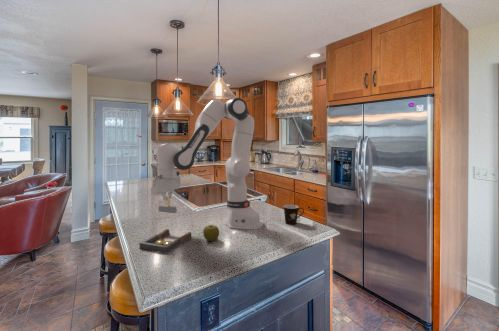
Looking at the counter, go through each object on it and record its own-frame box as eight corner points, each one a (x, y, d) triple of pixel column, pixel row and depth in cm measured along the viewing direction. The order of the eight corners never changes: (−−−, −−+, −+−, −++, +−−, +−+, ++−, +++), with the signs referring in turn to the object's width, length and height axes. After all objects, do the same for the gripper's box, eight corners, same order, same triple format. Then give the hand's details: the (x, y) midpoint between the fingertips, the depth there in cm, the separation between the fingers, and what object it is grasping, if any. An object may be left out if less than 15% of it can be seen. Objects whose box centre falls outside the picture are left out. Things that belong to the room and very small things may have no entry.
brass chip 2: (174, 244, 125) (174, 241, 125) (168, 248, 121) (168, 244, 121) (167, 243, 127) (167, 240, 126) (161, 246, 123) (161, 243, 122)
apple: (211, 236, 135) (211, 222, 134) (222, 240, 130) (222, 226, 129) (200, 240, 129) (199, 226, 128) (211, 244, 124) (211, 230, 123)
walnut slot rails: (191, 237, 134) (191, 232, 133) (180, 244, 125) (180, 238, 125) (167, 233, 139) (166, 229, 138) (155, 239, 130) (155, 234, 130)
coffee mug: (282, 225, 152) (282, 208, 150) (284, 220, 160) (284, 204, 159) (303, 226, 149) (303, 209, 148) (303, 221, 157) (304, 205, 156)
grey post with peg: (176, 212, 141) (176, 195, 140) (174, 213, 139) (173, 196, 138) (161, 210, 144) (160, 194, 143) (158, 211, 142) (158, 195, 141)
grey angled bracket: (180, 244, 125) (180, 239, 124) (166, 253, 115) (166, 247, 115) (154, 240, 130) (154, 235, 130) (139, 248, 121) (139, 242, 120)
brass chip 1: (166, 243, 127) (166, 239, 127) (161, 246, 123) (161, 243, 122) (158, 242, 128) (158, 239, 128) (153, 245, 124) (153, 242, 124)
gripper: (158, 177, 129) (159, 204, 130) (182, 171, 148) (183, 195, 149) (147, 176, 131) (149, 203, 132) (172, 171, 150) (173, 195, 151)
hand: (167, 199), depth 141 cm, fingers closed on grey post with peg, 2 cm apart
